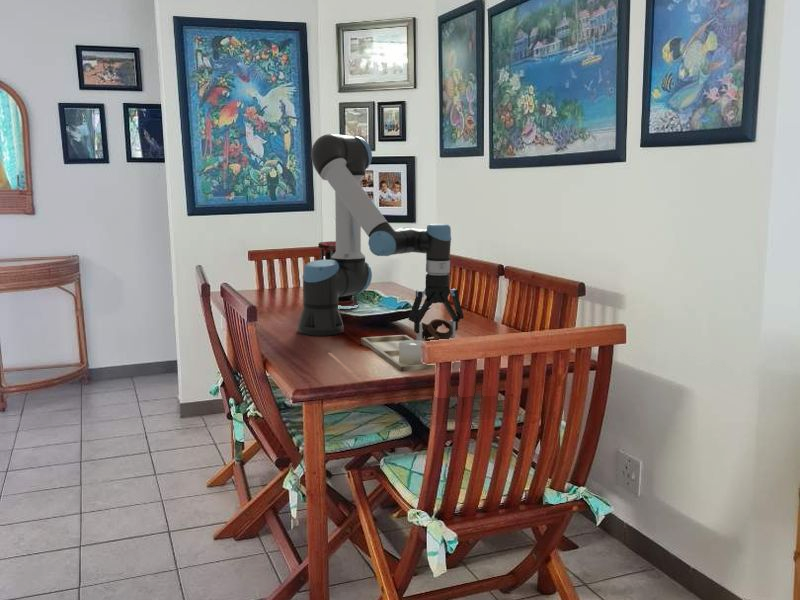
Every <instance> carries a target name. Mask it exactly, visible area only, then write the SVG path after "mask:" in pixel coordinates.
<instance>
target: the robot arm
mask: <svg viewBox="0 0 800 600" xmlns="http://www.w3.org/2000/svg"><path fill="white" fill-rule="evenodd" d="M310 157H311V162H312V165H313V168H314V169H315V171H316V172H317V174H318V175H319V176H320V178H321V179H322V180H323V181H327V182H328V184H329V185H330V186H331V188H332V189H333V191H334V192H335V193H334V195H335V198H334V199H335V200H334V201H335V203H334V204H335V206H334V207H335V211H334V212H335V241H336V252H335V253H334V254H333V255H332V256H331V260H326V259H324V260H321V259H317V260H313V261H309V262H307V263H306V264H305V265H304V266H303V269H302V270H303V273H302V293H303V294H302V300H303V304H302V306H303V307H302V308H303V309H302V311H301V314H300V317H299V321H298V324H297V331H298V333H300V334H302V335H306V336H315V337H319V336H320V337H325V336H326V337H327V336H336V335H338V334H341V333H343V332H344V323H343V320H342V315H341V313H340V310H339V309H338V297H342V296H348V295H352V296H354V295H355V294H357V295H358V294H360V293H364V292H365V291H366V290H367V289H368V288H369V286H370V285H371V282H372V277H373V272H372V268H371V267H370V265H369V263H368V262H367V261H366V255H364V254H363V252H362V250H361V249H362V247H361V246H362V243H361V242H362V239H361V238H362V237H361V231H362V230H363V231H364V233H365V234H366V235H367V237H368V241H367V242H368V243H367V244H368V246H369V251H370V252H371V253H372V254H373V255H375V256H377V257H389V256H393V255H400V254H401V255H402V254H408V253H417V254H425V272H426V274H425V287H424V290H419V289H416V291H415V299H414V301H413V304H412V308H411V310H410V312H409V316H408V321H411V322H413V331H414V333H415V334H416V339H415V340H422V341H423V339H422V331H423V330H422V323H423V322H421V321H422V320H423V318H424V316H425V315H426V313H427V312H428V310H429V308H430V307H431V306H432V305H433V304H439V303H440V304H443V306H444V307H445V309H446V311H447V313H448V314H449V315H450V317H451V319H450V320H449V324H450V325H451V327H452V336H451V337H449V338H455V339H456V331H458V329H459V328H458V327H459V322H460V320H462V319H464V318H465V316H464V313H463V309H462V305H461V301H460V298H459V290H458V289H456V288H452V289H450V276H451V275H450V274H449V273H450V272H451V270H450V269H451V242H452V234H451V233H452V232H451V231H452V230H451V226H450V225H449V224H446V223H430V224H429V223H428V224H427V226H426V229H421V228H420V229H419V228H411V227H399V228H398V229H393V227H392V226H391V224H390V223H389V222H388V220H387V219H386V217H385V216H384V215H383V213H381V211H380V210H379V208H378V207H377V205H376V204H375V203H374V202H373V201H372V199H371V198H370V197H369V195H368V194H367V192H366V191H365V189H363V187H362V186H361V184H362V183H361V181H362V180H363V179H364V178H365V177H366V170H367V169H368V168H369V167H370V165H371V163H372V158H373V153H372V149H371V146H370V145H369V143H368V142H367V141H366V139H364V138H363V137H361V136H356V135H351V134H350V135H349V134H335V133H328V134H327V133H326V134H324V135H321V136H320V137H319V138H317V139H316V140H315V142H314V143H313V145H312V147H311V152H310ZM361 229H362V230H361ZM449 295H450V296H451V298H452V299H451V300H452V302H453V306H452V305H451V303H450V300H449V299H448V297H449ZM424 296H425V297H426V298H425V299H424V301H423V304H422V299H423V298H424ZM421 304H422V305H421ZM453 307H454V308H453Z"/></svg>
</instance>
